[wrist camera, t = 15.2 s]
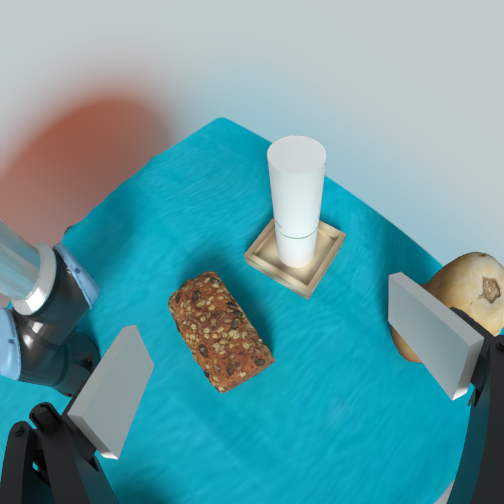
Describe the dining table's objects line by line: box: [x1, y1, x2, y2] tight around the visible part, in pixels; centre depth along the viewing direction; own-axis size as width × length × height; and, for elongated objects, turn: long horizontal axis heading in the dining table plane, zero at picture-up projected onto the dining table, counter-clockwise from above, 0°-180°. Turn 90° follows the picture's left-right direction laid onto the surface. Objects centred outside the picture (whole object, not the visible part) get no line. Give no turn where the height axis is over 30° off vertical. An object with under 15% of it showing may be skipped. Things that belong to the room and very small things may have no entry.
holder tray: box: [244, 217, 346, 300], centre depth 53 cm, size 14×14×4 cm
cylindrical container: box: [267, 135, 326, 268], centre depth 43 cm, size 7×7×25 cm
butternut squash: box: [390, 252, 504, 363], centre depth 33 cm, size 14×13×25 cm
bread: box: [168, 271, 275, 393], centre depth 44 cm, size 19×11×10 cm, turn 32°
